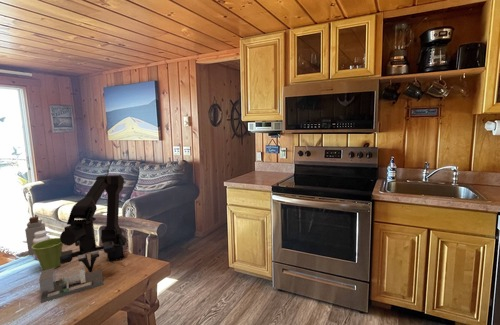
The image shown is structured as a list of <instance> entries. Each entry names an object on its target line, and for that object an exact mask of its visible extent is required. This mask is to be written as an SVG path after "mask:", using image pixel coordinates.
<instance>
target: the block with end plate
mask: <svg viewBox="0 0 500 325" xmlns="http://www.w3.org/2000/svg"><path fill="white" fill-rule="evenodd" d="M78 264H79V267H78V268H76V269H72V270H69V271H68V270H67V271H65V272H62V273H61V280H62V284H63V287H65V286H67V289H68V288H69V285H72V284H76V283H79V282H81V284H82V283H86V275H85V273H86V269H85V267H86V266H85V264H84V263H83V262H82V261H80V262H79V261H78Z"/></svg>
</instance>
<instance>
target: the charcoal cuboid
mask: <svg viewBox="0 0 500 325" xmlns="http://www.w3.org/2000/svg"><path fill="white" fill-rule="evenodd" d="M59 291H60V292H62V291H63V284H62V283H59Z"/></svg>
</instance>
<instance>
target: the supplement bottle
mask: <svg viewBox="0 0 500 325" xmlns="http://www.w3.org/2000/svg"><path fill="white" fill-rule="evenodd" d="M34 236H35V238H34V239H33V245H34V244H36V243H38V242H41V241H44V240H48V239H51V237H50V236H49V235H48V234H47V231H39V232H36V233H34ZM34 253H35V251H34ZM34 258H35V260H37V261H39V260H38V257H37V255H36V253H35V255H34Z"/></svg>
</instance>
